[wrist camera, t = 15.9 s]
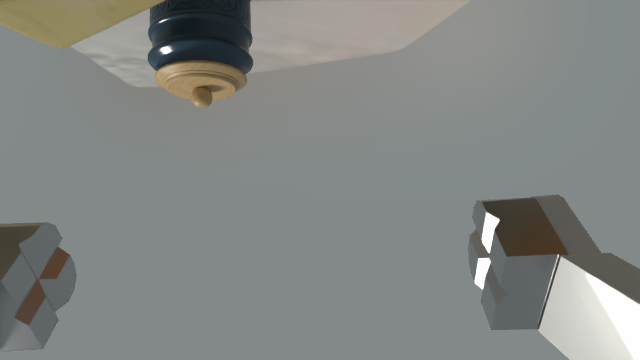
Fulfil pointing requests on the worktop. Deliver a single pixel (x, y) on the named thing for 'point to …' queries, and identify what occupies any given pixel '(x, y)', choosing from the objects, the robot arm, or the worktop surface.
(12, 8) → the cheese
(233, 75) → the canister
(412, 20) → the worktop surface
